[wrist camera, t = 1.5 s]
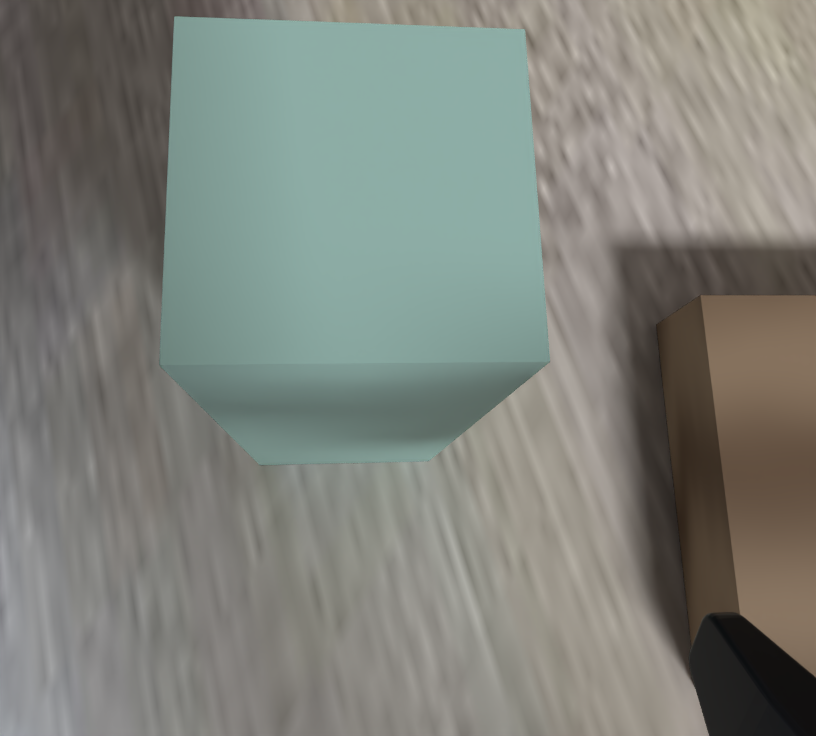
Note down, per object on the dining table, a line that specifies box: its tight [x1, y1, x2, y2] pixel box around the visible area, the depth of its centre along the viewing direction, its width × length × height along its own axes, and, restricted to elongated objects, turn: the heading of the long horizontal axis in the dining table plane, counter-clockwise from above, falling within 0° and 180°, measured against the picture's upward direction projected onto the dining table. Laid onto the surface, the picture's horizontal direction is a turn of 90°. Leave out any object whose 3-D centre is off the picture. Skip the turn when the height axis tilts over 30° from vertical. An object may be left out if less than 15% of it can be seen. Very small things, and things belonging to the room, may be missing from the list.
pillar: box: [159, 16, 550, 465], centre depth 16 cm, size 5×5×13 cm
